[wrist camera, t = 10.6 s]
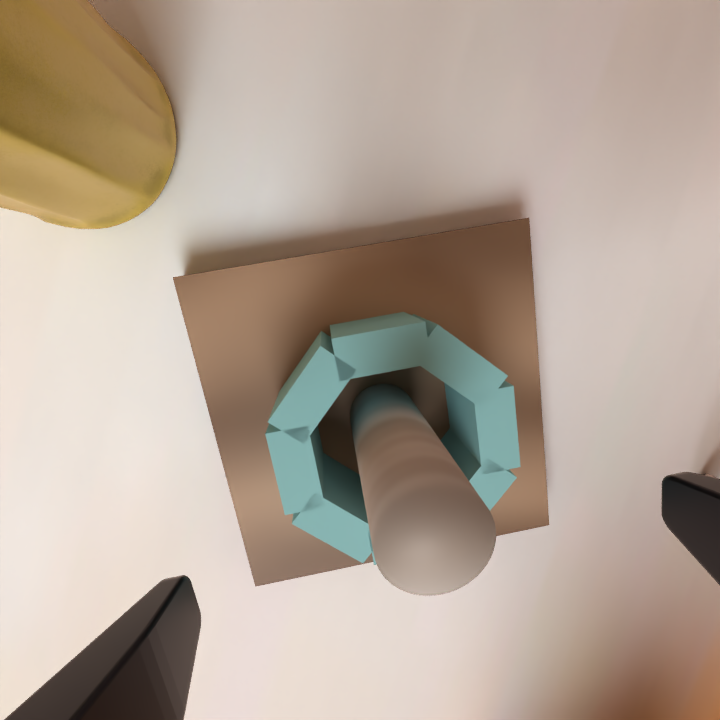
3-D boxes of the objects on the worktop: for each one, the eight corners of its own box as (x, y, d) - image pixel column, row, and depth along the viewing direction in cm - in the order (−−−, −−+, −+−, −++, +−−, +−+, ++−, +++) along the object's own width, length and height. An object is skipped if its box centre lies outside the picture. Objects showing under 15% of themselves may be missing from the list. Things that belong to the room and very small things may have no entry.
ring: (487, 483, 15) (525, 532, 12) (305, 521, 15) (300, 580, 12) (467, 300, 14) (506, 306, 11) (263, 337, 13) (246, 354, 10)
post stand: (535, 510, 17) (716, 710, 9) (259, 567, 16) (200, 834, 9) (514, 221, 14) (744, 157, 6) (183, 277, 14) (-3, 279, 6)
